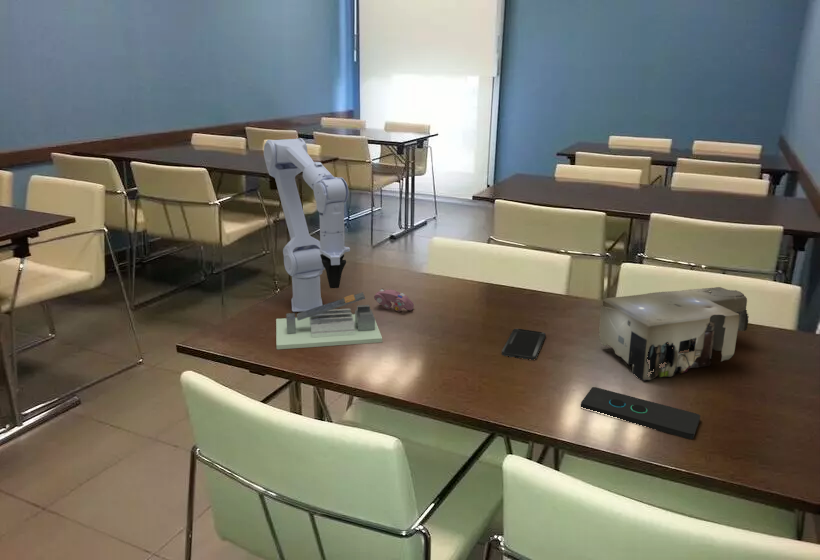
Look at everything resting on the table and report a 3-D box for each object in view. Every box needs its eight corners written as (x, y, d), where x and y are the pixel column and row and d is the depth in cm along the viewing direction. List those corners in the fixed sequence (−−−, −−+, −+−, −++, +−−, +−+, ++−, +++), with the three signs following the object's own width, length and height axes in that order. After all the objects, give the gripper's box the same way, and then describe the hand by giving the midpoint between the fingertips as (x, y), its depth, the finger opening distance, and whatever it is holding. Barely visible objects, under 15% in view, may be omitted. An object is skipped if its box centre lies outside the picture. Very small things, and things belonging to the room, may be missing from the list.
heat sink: (309, 321, 157) (309, 309, 156) (350, 318, 159) (350, 307, 158) (311, 337, 148) (311, 325, 147) (354, 334, 150) (354, 322, 149)
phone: (546, 332, 153) (535, 358, 140) (546, 337, 154) (535, 362, 140) (513, 328, 156) (500, 352, 143) (513, 332, 156) (499, 356, 143)
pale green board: (276, 322, 159) (276, 318, 159) (372, 316, 164) (372, 313, 163) (276, 349, 144) (276, 345, 144) (382, 342, 149) (382, 338, 148)
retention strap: (297, 315, 153) (296, 312, 152) (363, 294, 154) (362, 291, 154) (297, 320, 150) (296, 317, 150) (365, 298, 151) (364, 295, 151)
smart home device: (592, 385, 127) (701, 413, 118) (592, 393, 128) (699, 421, 118) (580, 402, 121) (693, 434, 111) (579, 410, 121) (692, 443, 111)
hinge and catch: (286, 325, 155) (286, 309, 153) (371, 320, 159) (371, 304, 157) (287, 335, 149) (286, 319, 148) (374, 330, 153) (374, 313, 151)
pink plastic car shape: (376, 312, 171) (369, 293, 166) (383, 300, 174) (377, 281, 169) (408, 319, 167) (403, 300, 162) (416, 307, 169) (411, 288, 165)
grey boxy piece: (773, 364, 140) (783, 306, 136) (643, 384, 131) (650, 322, 127) (713, 335, 157) (720, 282, 153) (595, 350, 148) (599, 295, 144)
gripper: (352, 237, 144) (353, 294, 149) (346, 222, 158) (347, 275, 162) (321, 238, 143) (323, 296, 147) (317, 223, 156) (319, 276, 161)
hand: (333, 285), depth 155 cm, fingers open, 3 cm apart
